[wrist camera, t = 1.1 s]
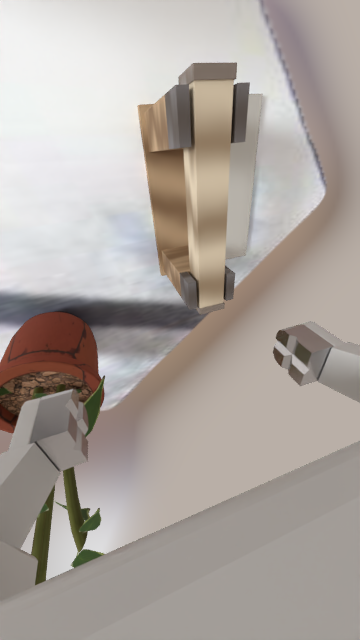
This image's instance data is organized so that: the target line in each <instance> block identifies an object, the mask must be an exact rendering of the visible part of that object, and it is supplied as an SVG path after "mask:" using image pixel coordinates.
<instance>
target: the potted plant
mask: <svg viewBox="0 0 360 640" xmlns="http://www.w3.org/2000/svg"><path fill="white" fill-rule="evenodd" d="M104 379H105V375H104V376H103V378H102V379H101V377H100V376H99V374H98V355H97V346H96V342H95V339H94V336H93V333H92V331H91V329H90V327H89V326H88V325H87V324H86V323H85V322H84V321H83V320H81V319H80V318H78V317H76V316H74V315H71V314H69V313H64V312H48V313H43V314H39V315H37V316H34V317H32V318H30V319H29V320H28V321H26V322H25V323H24V324H23V326H22V327H21V328H20V329H19V330H18V331H17V332H16V334H15V335H14V336H13V337H12V339H11V341H10V343H9V345H8V347H7V349H6V351H5V354H4V356H3V358H2V360H1V362H0V430H3V431H6V432H9V433H14V430H15V427H16V424H17V421H18V418H19V414H20V411H21V408H22V406H23V404H24V403H25V402H26V401H29V400H33V399H37V398H41V397H44V396H47V395H51V394H55V393H59V392H63V391H67V390H71V389H76V391H77V392H78V394H79V402H82V403H83V404H84V406H85V408H86V411H87V415H88V431H87V432H86V434H85V437H86V436H87V435H88V434H89V433H90V432H91V431H92V429H93V427H94V424H95V422H96V420H97V418H98V415H99V413H100V407H101V406H102V403H103V401H104V387H103V384H104ZM63 476H64V486H65V494H66V502H67V506H64V505H61V504H59V503H57V502H56V503H57V504H59V505H60V506H62V507H64V508H65V509H67V510H68V514H69V520H70V525H71V530H72V534H73V537H74V541H75V543H76V547H77V549H78V552H80V551H81V550H82V548H83V546H84V544H85V541H86V538H87V531H90V530H95V529H96V528H97V527H98V526H99V525H100V522H101V517H100V514H99V512H100V508H98V510H97V511H96V513H95V514H94V515H93V516H91V517H90V516H89V514H88V513H89V511H90V509H89V508H85V509H81V507H80V503H79V499H78V493H77V487H76V480H75V474H74V467H71V468H69V469H66V470H63ZM54 491H55V485H54V487H53V488H52V490H51V492H50V494H49V496H48V498H47V500H46V502H45V503H44V505H43V507H42V509H41V511H40V513H39V515H38V517H37V521H36V527H35V533H34V540H33V547H32V553H31V555H32V556H34V557H35V558H36V559H37V560H38V565H37V572H36V580H35V585H37V584H40V583H42V582H44V581H46V570H47V560H48V550H49V540H50V529H51V519H52V510H53V500H54ZM84 520H85V521H84ZM102 555H105V554H103V553H100V552H96V551H91V550H87V549H83V550H82V551H81V552H80V553H79V554H78V553H77V556H76V558H75V560H74V561H73V563H72V564H71V566H72V567H74V568H75V567H78V566H80V565H82V564H84V563H87V562H89V561H91V560H93V559H96V558H98V557H100V556H102Z"/></svg>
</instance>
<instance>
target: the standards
mask: <svg viewBox="0 0 360 640" xmlns="http://www.w3.org/2000/svg"><path fill="white" fill-rule="evenodd" d="M249 86H250V83H237V84H235V85H233V104H232V125H231V143H240V142H245V138H246V125H247V112H248V99H249ZM138 113H139V120H140V128H141V135H142V142H143V149H144V157H145V164H146V171H147V178H148V186H149V193H150V200H151V207H152V214H153V222H154V229H155V236H156V243H157V251H158V258H159V265H160V272H161V275H162V276H164V275H167V276H168V278H169V279H170V281H171V282H172V284H173V285H174V287H175V288H176V290H177V291H178V293H179V295H180V296H181V298H182V299H183V301H184V302H185V304H186V305H187V307H188V308H189V310H191V309H195V308H197V291H196V281H195V280H194V279H193V278H192V277H191V276H190V263H189V244H188V225H187V206H186V187H185V169H184V150H183V148H186V147H191V126H190V99H189V84H187V85H175V86H174V87H173V88H172V89H171V90H170V91H168V92H167V93H166V94H165V95H164V96H163V97H162V98H161V99H159V100H158V101H157V102H156V103H155V104H147V105H138ZM234 280H235V273H234V272H233V271H231V270H230V269H229V268H228V267H226V266H225V275H224V296H223V298H224V299H225V300H226V301H227V300H231V299H233V293H234Z"/></svg>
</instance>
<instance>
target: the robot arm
mask: <svg viewBox="0 0 360 640" xmlns="http://www.w3.org/2000/svg"><path fill="white" fill-rule="evenodd" d="M276 339H277V340H278V342H277V343H276V344H275V346H274V350H273V354H274V357H275V360H276V361H277V363H278V364H279V365H280V366H281V367H283V368H286V369H288V373H289V375H290V376H291V377H292V378H293V379H294V380H295V381H296V382H297V383H298V384H299V385H300V386H302V385H305V384H309V383H312V382H315V381H318V382H320V383H322V384H324V385H326V386H328V387H330V388H332V389H334V390H335V391H337V392H339V393H341V394H343V395H345V396H348V397H349V398H351V399H353V400H356V401H358V402H360V345H357V344H354V343H350V342H347V343H345V342H343V341H342V340H340V339H339V338H337V337H336V336H334V335H333V334H331V333H330V332H328V331H327V330H325V329H324V328H322V327H321V326H319V325H318V324H316V323H315V322H311V321H310V322H306V323H303V324H300V325H296V326H293V327H289V328H286V329H282V330H279V332H278V333H277V336H276ZM87 431H88V415H87V411H86V408H85V406H84V404H83V403H82V402H79V394H78V392H77V391H76V389H71V390H67V391H63V392H59V393H55V394H51V395H47V396H44V397H41V398H37V399H33V400H29V401H26V402H25V403H24V404H23V406H22V408H21V411H20V414H19V418H18V421H17V424H16V427H15V430H14V434H13V437H12V440H11V443H10V446H9V450H8V451H6V452H3V453H2V454H1V455H0V640H360V441H358V442H356V443H354V444H351V445H349V446H347V447H345V448H342V449H340V450H338V451H336V452H333V453H331V454H329V455H327V456H324V457H322V458H320V459H318V460H316V461H313V462H311V463H309V464H306V465H304V466H302V467H300V468H298V469H295V470H293V471H291V472H289V473H287V474H284V475H282V476H280V477H277V478H275V479H273V480H271V481H268V482H266V483H264V484H262V485H259V486H257V487H255V488H253V489H251V490H248V491H246V492H244V493H241V494H239V495H237V496H235V497H233V498H230V499H228V500H226V501H224V502H221V503H219V504H217V505H215V506H212V507H210V508H208V509H206V510H203V511H201V512H199V513H197V514H195V515H192V516H190V517H188V518H185V519H183V520H181V521H179V522H176V523H174V524H172V525H170V526H168V527H165V528H163V529H161V530H159V531H156V532H154V533H152V534H149V535H147V536H145V537H143V538H141V539H138V540H136V541H134V542H132V543H129V544H127V545H125V546H123V547H120V548H118V549H116V550H114V551H111V552H109V553H107V554H105V555H102V556H100V557H98V558H96V559H93V560H91V561H89V562H87V563H84V564H82V565H80V566H78V567H75V568H73V569H71V570H69V571H67V572H64V573H62V574H60V575H58V576H55V577H53V578H51V579H49V580H46V581H44V582H42V583H40V584H37V585H35V580H36V572H37V565H38V560H37V559H36V558H35V557H34V556H32V555H31V554H28V553H27V552H25V551H23V550H21V549H20V548H21V547H22V545H23V543H24V541H25V539H26V537H27V535H28V533H29V532H30V530H31V528H32V526H33V524H34V522H35V520H36V518H37V517H38V515H39V513H40V511H41V509H42V507H43V505H44V503H45V502H46V500H47V498H48V496H49V494H50V492H51V490H52V488H53V487H54V485H55V483H56V481H57V479H58V477H59V475H60V472H61V471H63V470H66V469H69V468H71V467H74V466H76V465H79V464H82V463H84V462H87V461H88V440H87V439H86V437H85V434H86V432H87Z"/></svg>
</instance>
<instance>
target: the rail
mask: <svg viewBox="0 0 360 640" xmlns="http://www.w3.org/2000/svg"><path fill="white" fill-rule="evenodd" d="M236 72H237V63H193V64H192V65H191V66H190V67H189V68H188V69H187V70H185V71H184V72H183V73H182V74H181V75H180V76H179V85H187V84H189V99H190V126H191V147H186V148H183V150H184V169H185V187H186V206H187V225H188V244H189V263H190V276H191V277H192V278H193V279H194V280H195V281H196V291H197V308H196V310H197V311H198V312H199V314H200V315H201V314H205V313H209V312H212V311H216V310H220V309H224V305H225V304H224V302H223V296H224V275H225V253H226V232H227V211H228V189H229V168H230V147H231V125H232V104H233V83H234V79H236Z"/></svg>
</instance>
